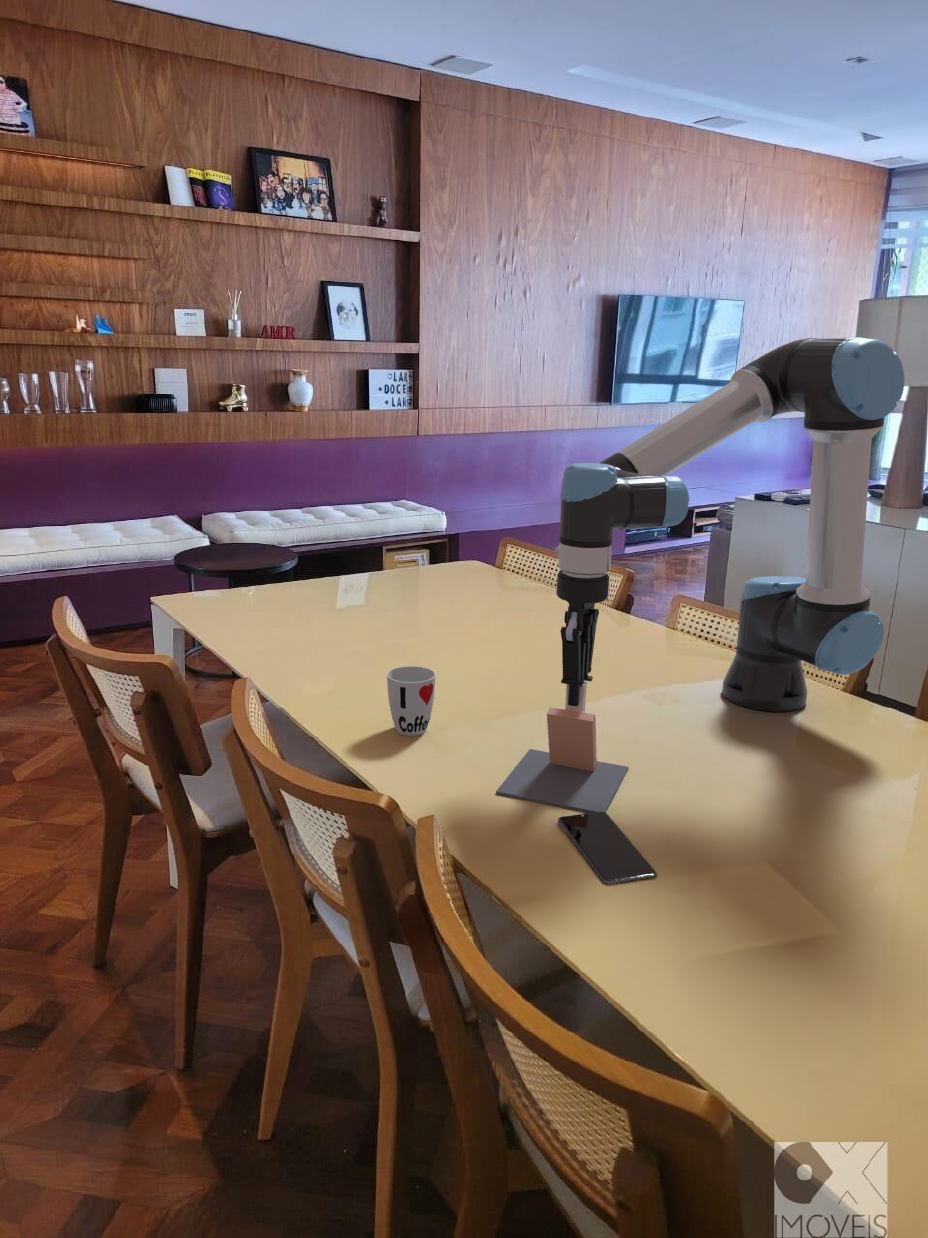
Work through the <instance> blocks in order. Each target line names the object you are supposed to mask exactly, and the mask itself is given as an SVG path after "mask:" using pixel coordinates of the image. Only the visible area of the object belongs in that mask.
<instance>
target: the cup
mask: <svg viewBox="0 0 928 1238" xmlns="http://www.w3.org/2000/svg"><path fill="white" fill-rule="evenodd" d="M436 677H437V672H435V671H434V670H433V669H431V668H428V667H423V666H418V665H417V666H416V665H409V666H405V665H404V666H399V667H395V668H392V669H390V670H389V671H387V673H386V685H387V696H388V699H387V700H388V704H389V708H390V709H389V710H390V714H391V719H392V721H393V725H394V728H395V731H396V732H397V733H398V734H399V735H403V736H407V737H415V736H420V735H423V734H425V733H426V731H427V729H428V725H429V723H430V720H431V716H432V712H433V705H434V701H435V691H436V690H435V687H436Z"/></svg>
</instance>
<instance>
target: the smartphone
mask: <svg viewBox="0 0 928 1238" xmlns="http://www.w3.org/2000/svg"><path fill="white" fill-rule="evenodd" d="M557 823H558V824H559V826H560V827H561V829H562V830H563V831H564V833H565V834H566V836H567V837H568V838H569V839H570V841H571V842H572V844H573V845H574V846H575V848H576V850H577V851H578V852H579V853H580V855H581V856H582V857H583V858H584V860H585V861H586V863H587V864H588V865H589V867H590V868H591V870H592V871H593V872H594V873H595V875H596V876H597V877H598V879H599V880H600V881H601V883H602V884H603V885H604V886H605V885H606V886H614V885H619V884H625V883H626V884H627V883H630V882H631V881H634V882H641V881H647V880H653V879H655V878H657V877H658V872H657V871H656V869H654V867H653V866H652V865H651V864H650V863H649V861H648V860H647V859H646V858H645V856H644V855H642V853H641V852H640V851H639V850H638V849H637V847H636V846H635V845H634V844H633V843H632V842H631V840H630V839H629V838H628V837H627V836H626V834H625V833H624V832H623V831H622V830H621V829H620V828H619V826H618V825H617V823H615V821H614V820H613V819H612V818H611V817H610V816H609V815H608V813H607V812H606V813H605V812H594V813H588V812H585V813H581V814H580V813H579V814H571V815H565V816H560V817H558V818H557Z"/></svg>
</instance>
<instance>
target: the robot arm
mask: <svg viewBox="0 0 928 1238" xmlns="http://www.w3.org/2000/svg"><path fill="white" fill-rule="evenodd" d="M904 389H905V371H904V366H903V363H902V360H901V358H900V356H899V354H898V353H897V352H896V351H895V350H894V349H893V347H892V346H891V345H890V344H888V343H886V342H885V341H884V340H880V339H875V338H865V337H857V336H854V337H835V338H834V337H833V338H831V337H830V338H827V337H826V338H817V337H816V338H815V337H811V338H810V337H809V338H799V339H796V340H793V341H790V342H788V343H786V344H782V345H781V346H778V347H776V348H775V349H772V350H770V351H768V352H767V353H765V354H763V355H761V356H759V357H758V358H756V359H755V360H752V361H751V362H749V363H748V364H746V365H744V366H743V367H742V368H740V369H738V370H736V371H734V373H733V374H732V375H731V377H730V380H729V383H726V384H725V385H724V386H722V387H721V388H719V389H717V390H716V391H714V392H712V393H710V394H709V395H708V396H706V397H704V398H703V399H700V400H699V401H698V402H696V403H694V404H692V405H691V406H690V407H688V408H687V409H685V410H683V411H681V412H680V413H679V414H677V415H675V416H673V417H672V418H670V419H669V420H667V421H666V422H664V423H662V424H661V425H659V426H658V427H656V428H654V429H652V430H651V431H649V432H647V433H646V434H645V435H643V436H641V437H640V438H638V439H636V440H635V441H633V442H631V443H630V444H628V445H627V446H625V447H624V448H622V449H620V450H618V451H617V452H616V453H614V454H612V455H611V456H609V457H607V458H605V459H604V460H602V461H600V462H576V463H571V464H569V465H568V466H566V467H565V469H564V471H563V478H562V481H561V482H562V484H561V492H560V520H559V539H558V540H559V542H558V543H559V544H558V545H559V546H556V547H555V553H557V554H558V561H557V563H558V564H557V567H558V569H559V570H560V571H559V572H557V576H556V590H555V591H556V596H557V598H559V599H560V600H562V601H565V602H567V603H568V608H567V610H565V613H564V619H563V620H564V623H565V626H561V629H560V637H561V647H562V648H561V651H562V652H561V653H562V656H561V657H562V658H561V659H562V660H561V661H562V662H561V663H562V679H561V680H560V683H561V684H565V685H566V686H565V687H566V688H565V689H566V690H565V691H566V692H565V703H564V704H565V705H564V708H565V710H571V711H577V712H583V713H586V702H587V700H586V699H587V686H588V685H587V682H592V681H593V679H594V678H593V676H592V675H589V674H590V673H591V671H592V666H593V665H592V664H593V657H594V655H593V654H594V648H595V641H596V640H595V639H596V638H595V637H596V630H597V623H598V619H599V615H600V611H599V610H600V609H599V608H595V605H596V604H598V603H602V602H605V601H606V600H607V599H608V596H609V589H610V588H609V587H610V576H609V574H608V573H609V572H610V571H611V567H612V566H611V563H612V549H613V548H612V546H613V545H612V544H613V534H614V531H618V530H619V531H620V530H635V529H639V530H640V529H656V528H657V529H662V528H667V527H673V526H677V525H680V524H681V522H683V520H685V518H686V516H687V514H688V511H689V506H690V503H689V502H690V493H689V490H688V487H687V485H686V483H685V482H684V481H683V480H682V478H680V477H678V476H676V475H670V474H672V473H674V472H675V471H677V470H678V469H679V468H682V467H683V466H685V465H686V464H688V463H689V462H691V461H693V460H694V459H696V458H697V457H699V456H701V455H702V454H704V453H705V452H707V451H708V450H710V449H712V448H714V447H715V446H717V445H718V444H720V443H722V442H723V441H725V440H726V439H728V438H729V437H731V436H733V435H734V434H736V433H737V432H739V431H740V430H743V429H744V428H746V427H747V426H749V425H750V424H751V423H758V424H761V423H765V422H767V421H768V420H770V419H772V418H774V417H775V416H777V415H782V414H785V413H793V412H800V413H804V416H803V417H804V418H803V430H805V431H806V433H807V434H808V435H809V436H810V437H812V440H813V441H812V459H811V476H810V477H811V478H810V479H811V480H810V495H809V496H810V498H809V516H808V517H809V518H808V536H807V538H808V539H807V551H806V552H807V554H806V556H807V557H806V570H805V571H806V574H805V575H806V576H805V578H804V577H798V576H782V575H781V576H779V575H778V576H777V575H776V576H773V575H772V576H771V575H770V576H759V577H753V578H750V579H748V580H747V581H746V582H745V583H744V586H743V591H742V596H741V598H740V607H739V618H738V619H739V620H738V627H737V628H738V629H737V640H736V650H735V651H736V652H735V655H734V657H733V658H732V662H731V663H730V666H729V668H728V671H727V672H726V675H725V676H724V677H723V678H724V679H723V682H722V688H721V689H722V691H721V693H722V695H723V697H724V698H725V699H727V700H728V701H729V702H731V703H733V704H735V705H737V706H741V707H744V708H747V709H752V710H757V711H763V712H766V711H767V712H775V713H776V712H777V713H778V712H781V713H782V712H791V711H792V712H793V711H797V710H799V709H802V708H804V707H805V706H806V704H807V698H808V687H807V684H806V678H805V675H804V668H803V665H802V664H803V663H802V661H803V662H804V663H807V664H809V665H812V666H814V667H816V668H817V669H819V670H821V671H824V672H829V673H833V674H835V675H839V676H847V675H852V674H854V673H856V672H858V671H860V670H862V669H863V668H865V667H867V665H868V664H869V663H870V662H871V661H872V659H874V658H875V656H876V655H877V654H878V651H879V650H880V648H881V645H882V643H883V640H884V633H885V628H884V623H883V620H882V619H881V618H880V616H879V615H878V614H876V613H875V612H874V611H872V610H870V607H871V606H870V605H871V604H870V603H871V592H870V590H869V589H868V588H867V587H866V586H865V585H864V584H863V583H862V579H863V563H864V553H865V552H864V549H865V548H864V547H865V536H866V535H865V534H866V524H867V523H866V522H867V510H868V509H867V508H868V507H867V506H868V494H869V481H870V480H869V479H870V468H871V466H870V464H871V456H872V455H871V453H872V439H873V437H874V436H876V434H877V433H879V432H880V431H881V430H882V429H883V428H884V424H885V423H884V421H885V417H886V416H888V415H890V414H891V413H892V412H894V410H895V409H896V408H897V406H898V405H897V402H900V401H901V399H902V395H903V394H904Z"/></svg>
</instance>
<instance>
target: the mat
mask: <svg viewBox="0 0 928 1238" xmlns="http://www.w3.org/2000/svg"><path fill="white" fill-rule="evenodd" d="M629 767H630V766H626V765H621V764H616V763H609V762H606V761H605V762H604V761H599V760H597V765H596V768H595V770H594V771H589V770H583V769H578V768H572V767H567V766H562V765H556V764H551V763H550V756H549V751H543V750H538V749H533V748H529V749H528V751H526V753H525V754H524V756H522V758H521V759H520V761H519V762H518V763H517V764H516V765H515V767H514V769H513V770H511V772H510V773H509V774H508V776H507V777H506V778H505V779H504V781H503V782H502V783H501V784H500V786H499V787H498V788H497V790H496V792H495V794H496V795H500V796H505V797H509V798H514V799H520V800H525V801H530V802H535V803H540V804H545V805H550V806H555V807H560V808H564V809H569V810H573V811H578V812H579V811H580V812H584V813H594V812H605V813H607V811H608V810H609V807H610V806H611V803H612V801H613V800H614V799H615V796H616V794H617V793H618V790H619V788H620V786H621V785H622V782H623V781H624V780H625V779H624V778H625V777H626V775H627V772H628V771H629Z"/></svg>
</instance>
